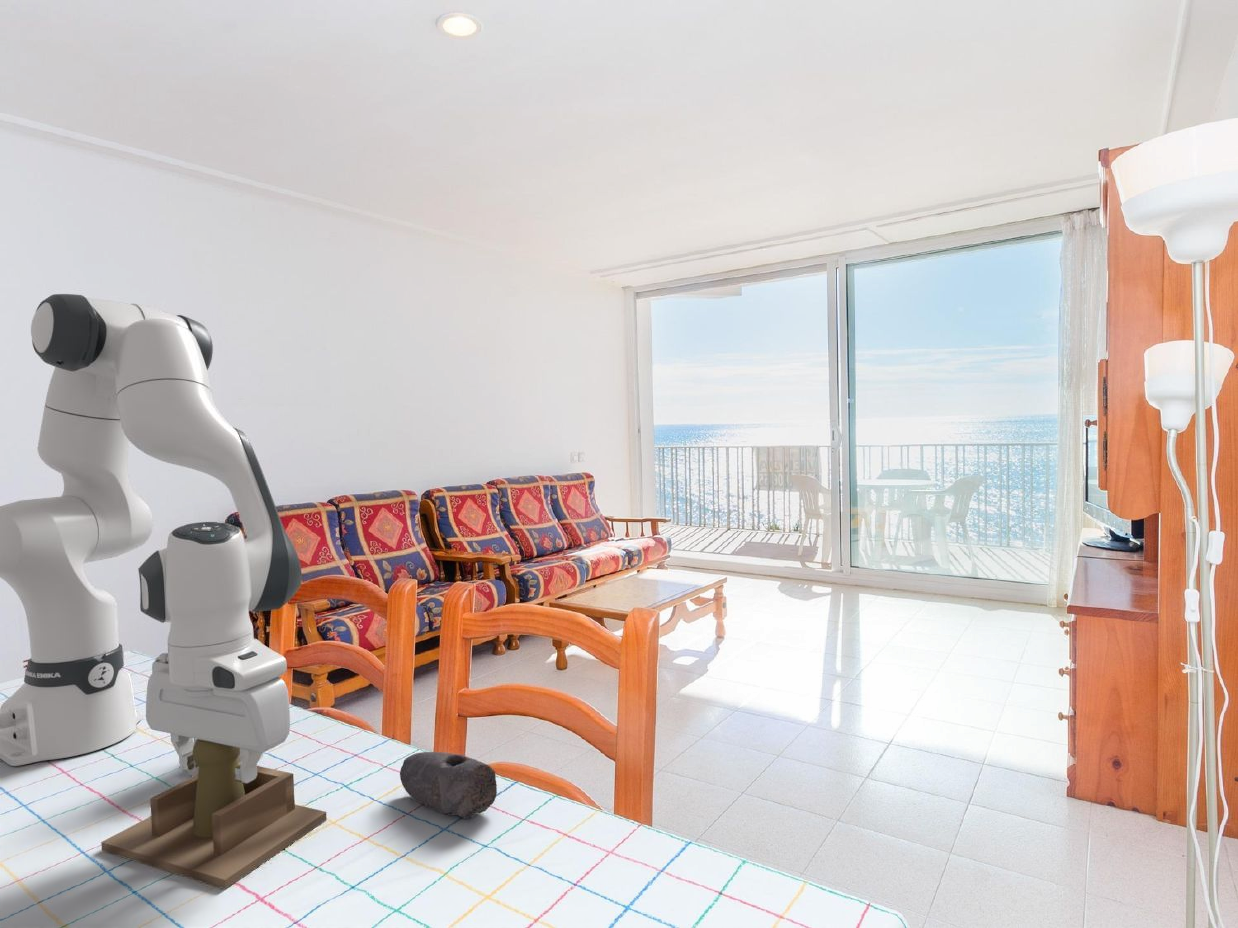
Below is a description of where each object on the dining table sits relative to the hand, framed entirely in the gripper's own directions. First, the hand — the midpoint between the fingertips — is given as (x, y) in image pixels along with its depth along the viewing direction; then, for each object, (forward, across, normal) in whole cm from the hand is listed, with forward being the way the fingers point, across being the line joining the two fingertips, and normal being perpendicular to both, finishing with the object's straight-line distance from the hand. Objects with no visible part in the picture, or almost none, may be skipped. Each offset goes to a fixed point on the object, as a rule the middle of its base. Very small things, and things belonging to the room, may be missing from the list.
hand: (218, 773), depth 84 cm
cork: (+6, 0, 0) cm, 6 cm away
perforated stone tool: (+8, +22, +14) cm, 27 cm away
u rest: (+7, 0, 0) cm, 7 cm away
